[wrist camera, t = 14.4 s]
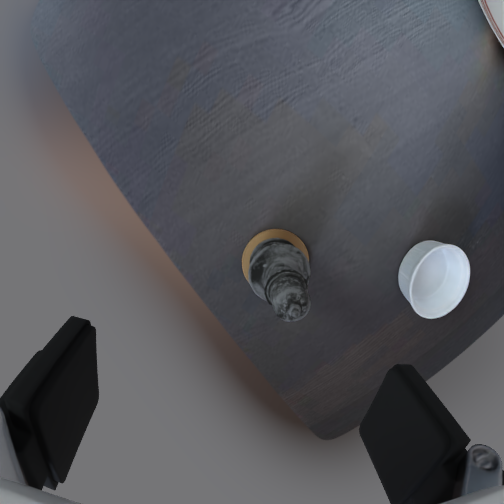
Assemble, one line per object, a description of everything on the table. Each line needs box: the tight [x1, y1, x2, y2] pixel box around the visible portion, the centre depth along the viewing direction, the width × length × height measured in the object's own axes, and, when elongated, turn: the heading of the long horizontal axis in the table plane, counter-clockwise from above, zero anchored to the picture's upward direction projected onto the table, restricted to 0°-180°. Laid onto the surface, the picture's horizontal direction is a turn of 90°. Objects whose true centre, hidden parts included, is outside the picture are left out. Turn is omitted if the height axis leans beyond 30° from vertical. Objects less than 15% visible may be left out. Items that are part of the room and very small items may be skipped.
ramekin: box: [398, 240, 470, 319], centre depth 34 cm, size 9×9×4 cm
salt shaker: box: [248, 238, 311, 322], centre depth 28 cm, size 6×6×12 cm
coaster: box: [242, 229, 309, 282], centre depth 34 cm, size 7×7×1 cm
